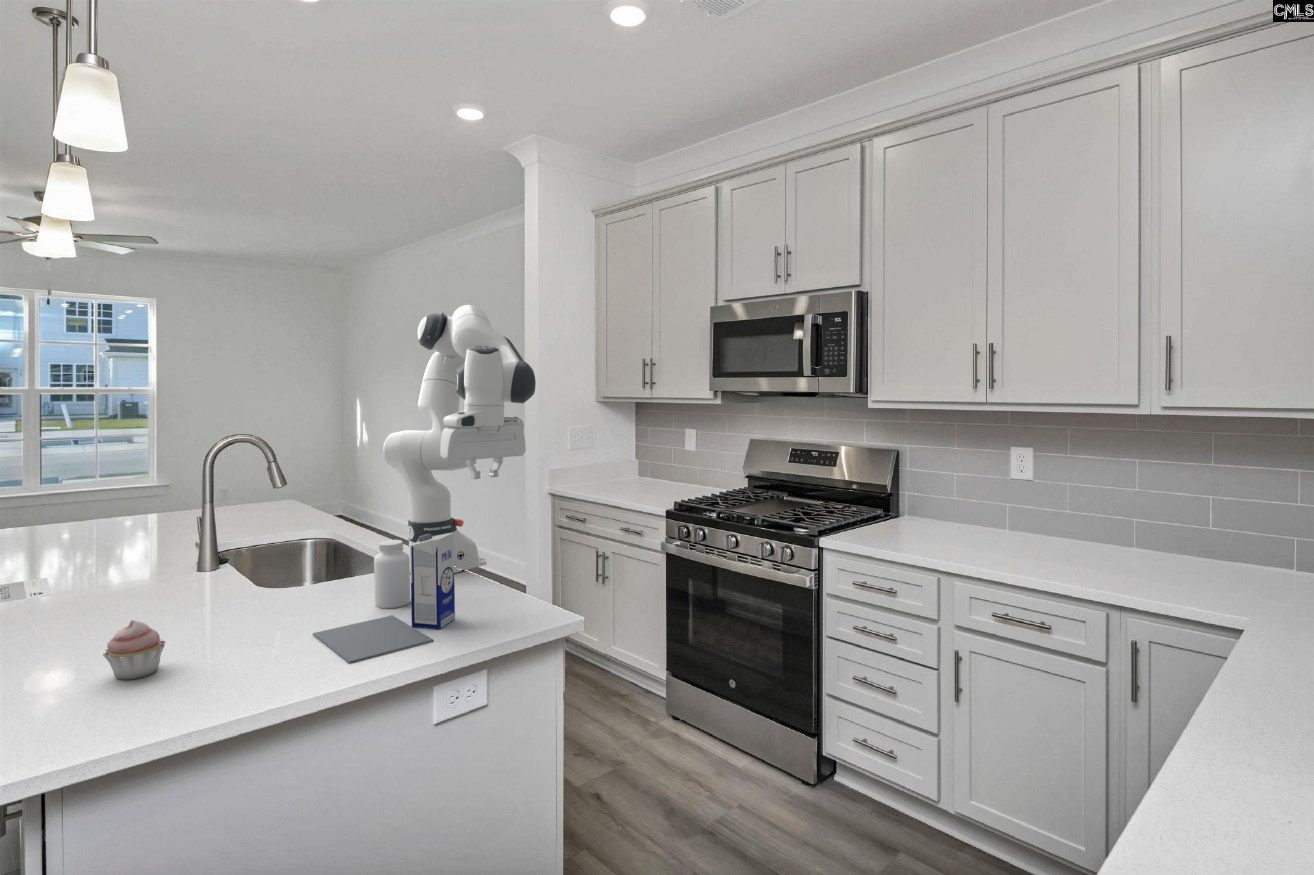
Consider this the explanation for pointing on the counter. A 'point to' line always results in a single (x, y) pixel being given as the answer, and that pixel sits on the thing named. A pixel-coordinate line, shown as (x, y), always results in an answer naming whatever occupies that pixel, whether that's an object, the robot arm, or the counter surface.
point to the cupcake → (134, 651)
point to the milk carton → (432, 581)
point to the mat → (371, 638)
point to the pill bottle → (391, 575)
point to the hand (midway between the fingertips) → (484, 478)
